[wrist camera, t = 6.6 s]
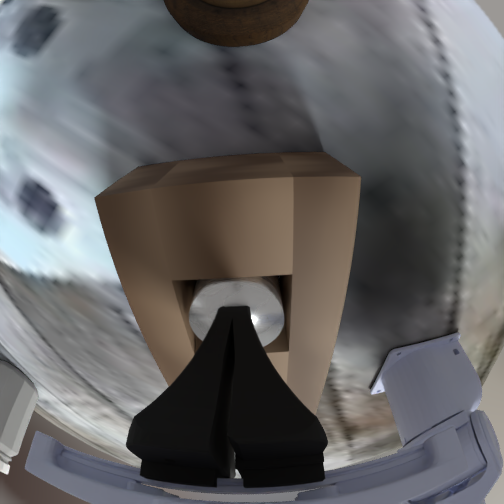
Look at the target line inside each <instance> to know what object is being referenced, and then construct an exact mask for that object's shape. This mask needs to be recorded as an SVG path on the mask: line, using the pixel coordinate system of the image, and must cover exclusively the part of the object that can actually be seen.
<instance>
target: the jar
mask: <svg viewBox="0 0 504 504" xmlns="http://www.w3.org/2000/svg"><path fill="white" fill-rule="evenodd" d="M38 398H39V396H38V392H37V389H36V387H35V385H34V384H33V383H32V382H31V381H30V380H29V378H28V377H27V376H26V375H24V374H23V373H22V372H21V371H20V370H18V369H17V368H16V367H14V366H13V365H11V364H10V363H8V362H6V361H2V360H1V361H0V471H1V472H3V473H5V474H8V472H9V468H10V465H8V461H12V459H11V458H10V457H12V456H15V455H17V454H18V452H19V449H20V446H21V443H22V440H23V437H24V434H25V431H26V428H27V426H28V423H29V420H30V418H31V415H32V413H33V410H34V408H35V405H36V403H37V400H38Z"/></svg>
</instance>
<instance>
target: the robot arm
mask: <svg viewBox="0 0 504 504" xmlns="http://www.w3.org/2000/svg"><path fill="white" fill-rule="evenodd" d="M460 336H461V335H460V333H459V332H458V333H454V334H451V335H448V336H444V337H441V338H437V339H433V340H430V341H426V342H422V343H418V344H414V345H410V346H406V347H401V348H397V349H393V350H391V351H390V352H389V354H388V356H387V358H386V361H385V363H384V365H383V367H382V369H381V371H380V373H379V375H378V377H377V379H376V381H375V382H374V384H373V386H372V388H371V390H370V393H371V394H376V393H380V392H384V391H385V393H386V396H387V398H388V401H389V404H390V407H391V410H392V413H393V416H394V419H395V423H396V426H397V429H398V432H399V435H400V439H401V442H402V445H403V448H401V449H399V450H398V451H397V452H398V453H395V454H392V455H389V456H386V457H383V458H380V459H376V460H373V461H369V462H365V463H362V464H357V465H353V466H349V467H344V468H339V469H334V470H329V471H324V466H323V462H324V456H323V451H324V450H325V448H326V446H327V444H328V440H327V437H326V434H325V431H324V429H323V427H322V425H321V424H320V422H319V420H318V418H317V417H316V416H315V415H314V414H313V413H312V412H311V411H310V410H309V409H308V408H307V407H306V406H305V405H304V404H303V403H302V402H301V401H300V400H299V399H298V397H297V396H296V395H295V394H294V393H293V392H292V390H291V389H290V388H289V387H288V385H287V384H286V383H285V382H284V380H283V379H282V378H281V376H280V375H279V373H278V372H277V370H276V369H275V367H274V366H273V364H272V362H271V361H270V359H269V357H268V355H267V354H266V352H265V350H264V348H263V346H262V344H261V342H260V339H259V337H258V335H257V332H256V330H255V327H254V324H253V321H252V317H251V312H250V307H249V306H230V307H220V308H219V309H218V311H217V313H216V316H215V318H214V320H213V323H212V325H211V327H210V329H209V331H208V333H207V334H206V336H205V338H204V340H203V342H202V343H201V345H200V347H199V348H198V350H197V351H196V353H195V355H194V356H193V358H192V359H191V360H190V362H189V363H188V365H187V366H186V367H185V369H184V370H183V371H182V372H181V374H180V375H179V376H178V377H177V378H176V379H175V381H174V382H173V383H172V384H171V385H170V386H169V387H168V388H167V389H166V390H165V391H164V392H163V393H162V394H161V395H160V396H159V397H158V398H157V399H156V400H155V401H153V402H152V403H151V404H150V405H149V406H147V407H146V408H145V409H143V410H142V411H141V412H140V413H138V414H137V415H136V416H134V418H133V421H132V424H131V426H130V429H129V433H128V437H127V442H126V447H127V448H128V449H129V450H130V451H131V452H132V453H133V454H135V455H136V456H137V457H139V458H140V459H142V463H141V468H136V467H132V466H127V465H123V464H119V463H115V462H112V461H108V460H104V459H101V458H98V457H94V456H92V455H88V454H85V453H82V452H80V451H77V450H74V449H71V448H69V447H66V446H64V445H63V444H61V443H60V442H59V441H57V440H56V439H54V438H52V437H50V436H48V435H46V434H43V433H41V432H39V431H36V433H35V436H34V439H33V442H32V446H31V449H30V452H29V455H28V458H27V462H26V465H25V469H26V470H27V471H28V472H30V473H32V474H33V475H35V476H37V477H39V478H40V479H42V480H44V481H46V482H48V483H49V484H51V485H53V486H55V487H57V488H59V489H61V490H63V491H65V492H67V493H69V494H71V495H73V496H75V497H78V498H80V499H82V500H84V501H87V502H89V503H92V504H401V503H402V504H485V500H484V498H485V497H486V496H487V494H488V493H489V492H490V490H491V489H492V487H493V486H494V484H495V483H496V481H497V480H498V479H499V477H500V475H501V472H502V467H503V459H502V456H501V453H500V448H499V443H498V440H497V437H496V434H495V431H494V429H493V427H492V424H491V422H490V420H489V418H488V417H487V415H486V414H485V412H484V411H480V410H477V408H478V406H479V404H480V401H481V397H482V386H481V382H480V379H479V376H478V374H477V373H476V371H475V369H474V367H473V365H472V364H471V362H470V360H469V358H468V357H467V355H466V353H465V352H464V350H463V348H462V347H461V345H460V343H459V342H458V340H459V338H460ZM234 452H235V453H234ZM235 469H237V470H238V471H239V473H240V475H241V478H242V479H234V477H235V476H236V473H235ZM467 478H468V479H467ZM141 483H142V484H141ZM143 484H147V485H152V486H157V487H163V488H168V489H176V490H182V491H191V492H201V493H215V494H269V493H283V492H293V491H302V490H309V489H315V490H309V491H305V492H300V493H298V497H296V498H295V501H285V502H261V503H258V502H257V503H249V502H246V503H245V502H216V501H202V500H191V499H181V498H179V496H176V495H173V494H170V493H167V492H165V491H164V490H162V489H158V488H154V487H150V486H146V485H143ZM456 484H457V485H456ZM454 485H455V486H454ZM322 487H323V488H322ZM316 488H318V489H316ZM444 490H445V491H444ZM442 491H443V492H442Z"/></svg>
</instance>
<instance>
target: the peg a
mask: <svg viewBox="0 0 504 504" xmlns="http://www.w3.org/2000/svg"><path fill="white" fill-rule="evenodd" d="M230 306H249V307H250V312H251V317H252V321H253V324H254V327H255V330H256V332H257V335H258V337H259V339H260V342H261V344H262V346H263V347H264V346H266V345H268V344H269V343H271V342H272V341H273V340H275V339H276V337H277V336H278V335H279V334H280V332H281V330H282V328H283V325H284V312H283V305H282V299H281V293H280V287H279V281H278V275H273V276H257V277H239V278H220V279H198V280H197V282H196V286H195V290H194V294H193V298H192V303H191V307H190V311H189V322H190V326H191V328H192V330H193V332H194V333H195V334H196V336H197V337H198V338H199V339H201V340H202V341H203V340H204V338H205V336H206V334H207V333H208V331H209V329H210V327H211V325H212V323H213V320H214V318H215V316H216V313H217V311H218V309H219V308H220V307H230Z"/></svg>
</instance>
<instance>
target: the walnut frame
mask: <svg viewBox="0 0 504 504" xmlns="http://www.w3.org/2000/svg"><path fill="white" fill-rule="evenodd" d="M360 185H361V176H359V175H358V174H356V173H355V172H354V171H352V170H351V169H349V168H348V167H346V166H345V165H343V164H342V163H341V162H339V161H338V160H336V159H335V158H333V157H331V156H330V155H328V154H327V153H325V152H283V153H258V154H242V155H228V156H217V157H206V158H197V159H188V160H180V161H173V162H166V163H159V164H152V165H146V166H140V167H137V168H136V169H134V170H133V171H131V172H130V173H128V174H127V175H125V176H124V177H122V178H121V179H119V180H118V181H117V182H115V183H114V184H112V185H111V186H110V187H108V188H107V189H105V190H104V191H103V192H101V193H100V194H99V195H97V196H96V197H95V202H96V206H97V210H98V214H99V217H100V221H101V224H102V228H103V231H104V234H105V238H106V241H107V244H108V247H109V250H110V253H111V256H112V259H113V262H114V265H115V268H116V271H117V274H118V276H119V279H120V282H121V284H122V287H123V290H124V292H125V295H126V297H127V300H128V302H129V305H130V307H131V309H132V312H133V314H134V316H135V319H136V321H137V323H138V326H139V328H140V330H141V332H142V334H143V337H144V339H145V341H146V343H147V345H148V347H149V349H150V351H151V353H152V355H153V357H154V359H155V361H156V363H157V365H158V367H159V369H160V371H161V373H162V375H163V376H164V378H165V380H166V382H167V384H168V386H170V385H171V384H172V383H173V382H174V381H175V379H176V378H177V377H178V376H179V375H180V374H181V372H182V371H183V370H184V369H185V367H186V366H187V365H188V363H189V362H190V360H191V359H192V358H193V356H194V355H195V353H196V351H197V350H198V348H199V347H200V345H201V343H202V342H203V341H202V340H201V339H199V338H198V337H197V336H196V334H195V333H194V332H193V330H192V328H191V326H190V322H189V311H190V307H191V303H192V298H193V294H194V290H195V286H196V282H197V280H198V279H220V278H239V277H257V276H273V275H280V293H281V299H282V305H283V312H284V325H283V328H282V330H281V332H280V334H279V335H278V336H277V337H276V339H275V340H273V341H272V342H271V343H269V344H268V345H266V346H264V347H263V348H264V350H265V352H266V354H267V355H268V357H269V359H270V361H271V362H272V364H273V366H274V367H275V369H276V370H277V372H278V373H279V375H280V376H281V378H282V379H283V380H284V382H285V383H286V384H287V385H288V387H289V388H290V389H291V390H292V392H293V393H294V394H295V395H296V396H297V397H298V399H299V400H300V401H301V402H302V403H303V404H304V405H305V406H306V407H307V408H308V409H309V410H310V411H311V412H312V413H313V414H314V415H315V414H316V411H317V408H318V404H319V401H320V398H321V395H322V391H323V388H324V384H325V381H326V377H327V374H328V370H329V366H330V363H331V359H332V355H333V351H334V347H335V343H336V339H337V334H338V330H339V326H340V321H341V316H342V312H343V307H344V302H345V296H346V291H347V286H348V280H349V274H350V268H351V262H352V255H353V249H354V241H355V234H356V226H357V217H358V207H359V197H360Z"/></svg>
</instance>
